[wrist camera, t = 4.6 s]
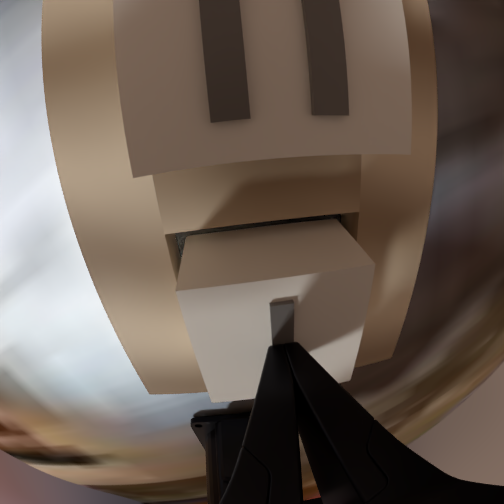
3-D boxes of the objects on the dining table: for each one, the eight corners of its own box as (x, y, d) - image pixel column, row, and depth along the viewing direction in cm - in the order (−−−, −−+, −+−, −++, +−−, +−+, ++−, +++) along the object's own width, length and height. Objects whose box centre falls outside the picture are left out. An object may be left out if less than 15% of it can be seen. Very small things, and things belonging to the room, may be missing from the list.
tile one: (327, 326, 12) (351, 383, 9) (211, 343, 12) (212, 406, 9) (335, 218, 10) (378, 267, 7) (186, 236, 9) (174, 294, 7)
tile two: (348, 133, 7) (415, 156, 5) (164, 149, 7) (130, 180, 4) (334, -25, 5) (387, -69, 2) (148, -17, 5) (113, -70, 2)
